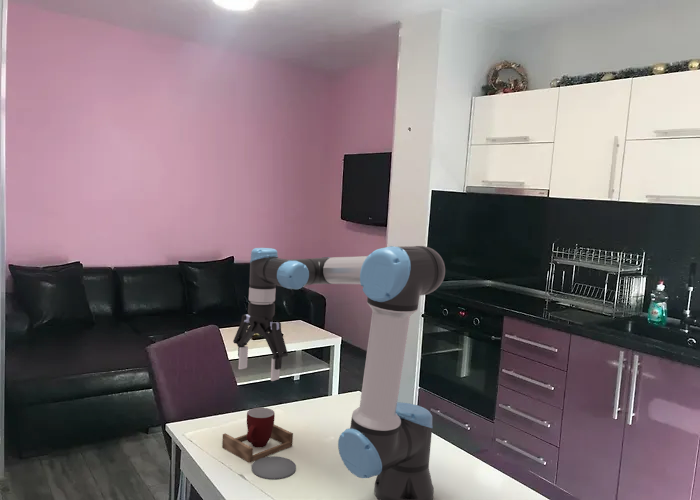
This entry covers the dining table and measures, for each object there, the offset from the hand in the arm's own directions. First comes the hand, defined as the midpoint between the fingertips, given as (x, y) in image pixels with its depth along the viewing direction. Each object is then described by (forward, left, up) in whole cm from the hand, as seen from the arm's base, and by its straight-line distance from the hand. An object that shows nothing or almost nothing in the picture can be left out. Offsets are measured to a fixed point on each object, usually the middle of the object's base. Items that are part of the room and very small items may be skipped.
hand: (258, 374), depth 166 cm
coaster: (-14, +4, -22) cm, 26 cm away
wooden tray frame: (-1, -1, -22) cm, 22 cm away
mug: (-1, -1, -22) cm, 22 cm away
